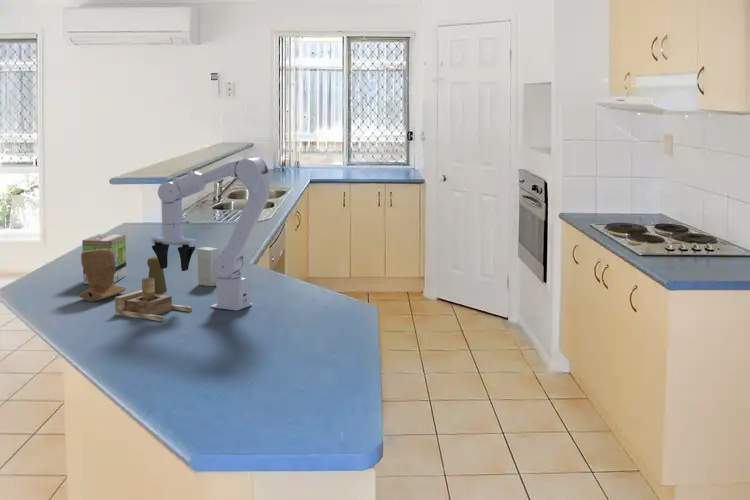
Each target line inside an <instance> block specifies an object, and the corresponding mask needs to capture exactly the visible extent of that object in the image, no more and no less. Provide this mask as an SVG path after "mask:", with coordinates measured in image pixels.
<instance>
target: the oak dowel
mask: <svg viewBox="0 0 750 500" xmlns="http://www.w3.org/2000/svg"><path fill="white" fill-rule="evenodd" d="M141 290H142V297H143V300H146V301H151V300H155V284H154V278H149V277H145V278H144V277H143V278H141Z"/></svg>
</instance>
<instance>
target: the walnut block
mask: <svg viewBox="0 0 750 500" xmlns="http://www.w3.org/2000/svg"><path fill="white" fill-rule="evenodd" d="M172 300H173V299H172V295H171V296H170V295H164V294H155V300H151V301H146V300H143V297H142V296H139V297H135V298H132V299H128V300H125V308H126V311H130V312H137V313H144V314H151V315H158V316H159V315H162V314H164V313H166V312H170V311H172V310H173V309H172V304H173V302H172Z"/></svg>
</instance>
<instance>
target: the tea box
mask: <svg viewBox="0 0 750 500" xmlns="http://www.w3.org/2000/svg"><path fill="white" fill-rule="evenodd" d="M81 245H82V252H85V251H91V250H100V249H110V248H111V249H112V250H113V252H114V255H115V262H116V268H115V273H114V283H117V282H118V281H119V280H121V279H123V278H126V276H127V272H128V271H127V248H126V246H127V240H126V234H111V233H108V234H96V235H92V236H90V237H88V238H86V239H83V240H82V243H81ZM82 270H83V271H82V274H83V275H82V277H83V285H89V283H88V280H87V277H86V274H85V271H84V269H83V268H82Z"/></svg>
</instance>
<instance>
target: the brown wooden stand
mask: <svg viewBox="0 0 750 500" xmlns="http://www.w3.org/2000/svg"><path fill="white" fill-rule="evenodd" d="M80 261H81V266H82V270H83V269H84V271H85V274H86V277H87V280H88V283H89V284H88V288H87V289H86V290H85V291H81V293H79V295H78V296H79V297H80V298H82V299H83V300H85V301H88V302H92V303H93V302H98V301H99V302H100V301H102V300H105V299H108V298H110V297H115V296H116V295H118V294H121V293H123V292H125V291H126V290H127V288H126V287H124V286H119V285H116V284H115V282H114V273H115V268H116V262H115V255H114V252H113V250H112V249H111V248H110V249H100V250H91V251H85V252H83V251H82V252H81V255H80Z"/></svg>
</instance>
